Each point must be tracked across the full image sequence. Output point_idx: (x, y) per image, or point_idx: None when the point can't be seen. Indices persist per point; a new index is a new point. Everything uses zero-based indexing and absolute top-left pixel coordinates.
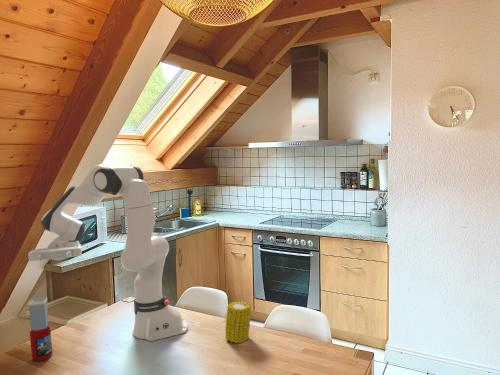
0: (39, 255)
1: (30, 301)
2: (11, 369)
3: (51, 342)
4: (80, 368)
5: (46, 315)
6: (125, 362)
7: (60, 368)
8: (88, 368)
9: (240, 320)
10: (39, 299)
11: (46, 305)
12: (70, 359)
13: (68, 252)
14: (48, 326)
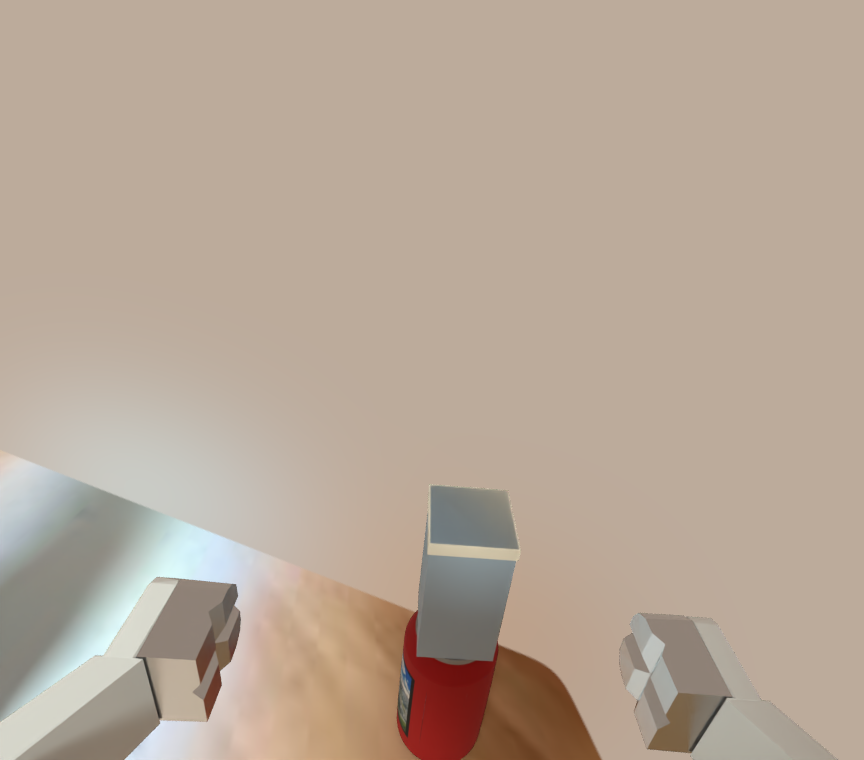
0: (764, 719)
1: (508, 511)
2: (533, 664)
3: (399, 688)
4: (298, 578)
5: (422, 576)
6: (157, 558)
7: (360, 602)
8: (275, 568)
9: None
10: (465, 520)
11: (426, 557)
12: (323, 653)
13: (82, 671)
14: (413, 631)
